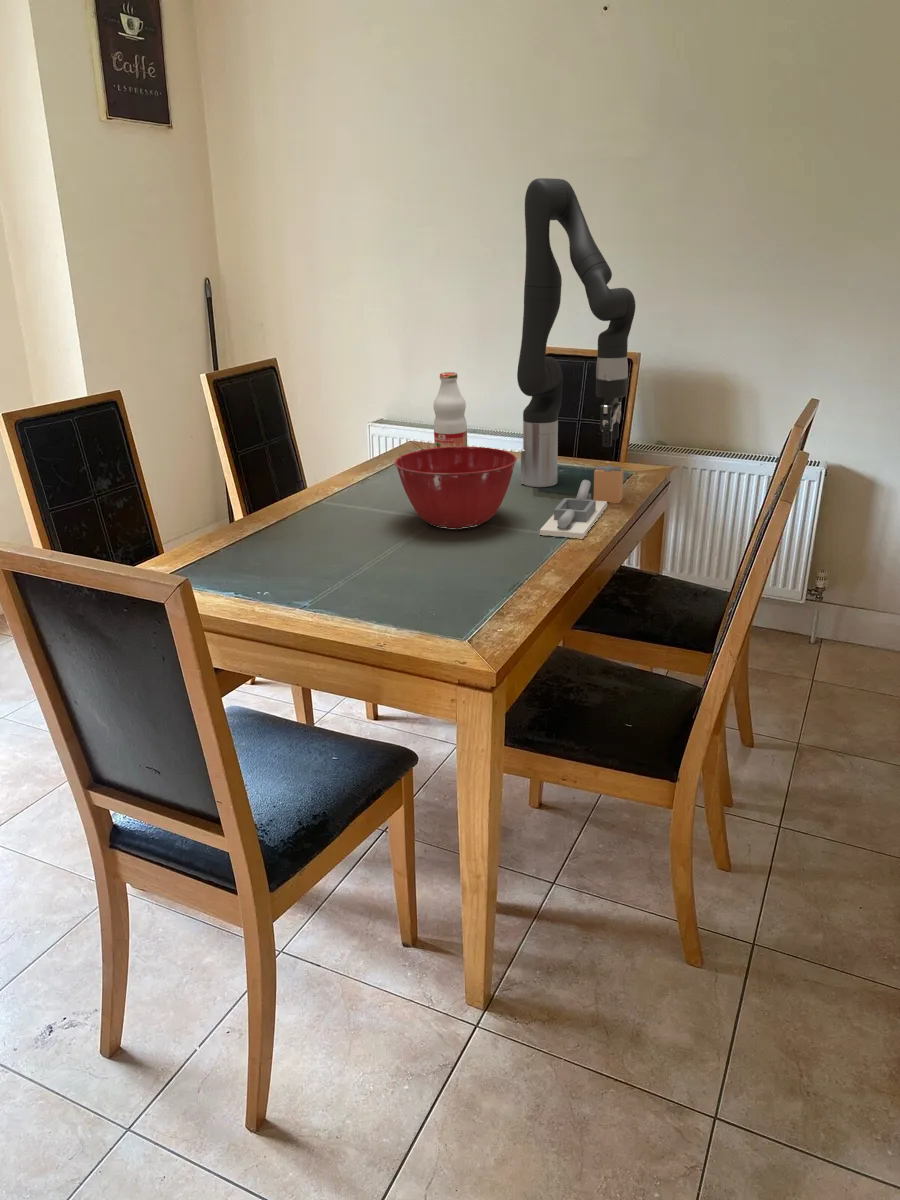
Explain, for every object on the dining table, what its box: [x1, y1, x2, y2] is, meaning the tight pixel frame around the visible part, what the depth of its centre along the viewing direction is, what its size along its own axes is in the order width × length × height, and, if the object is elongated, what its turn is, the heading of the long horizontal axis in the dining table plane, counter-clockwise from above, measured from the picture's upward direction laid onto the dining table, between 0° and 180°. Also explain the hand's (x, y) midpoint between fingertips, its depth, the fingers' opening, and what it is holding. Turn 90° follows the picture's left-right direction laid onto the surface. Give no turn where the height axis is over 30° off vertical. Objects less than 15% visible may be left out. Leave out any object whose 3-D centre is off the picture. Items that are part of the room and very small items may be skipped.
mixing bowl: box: [394, 446, 518, 528], centre depth 214 cm, size 28×28×15 cm
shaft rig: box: [539, 479, 608, 539], centre depth 212 cm, size 10×26×7 cm, turn 159°
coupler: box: [592, 464, 625, 504], centre depth 227 cm, size 6×4×9 cm, turn 69°
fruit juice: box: [433, 371, 468, 448], centre depth 255 cm, size 9×9×28 cm
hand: (610, 442), depth 223 cm, fingers open, 8 cm apart
